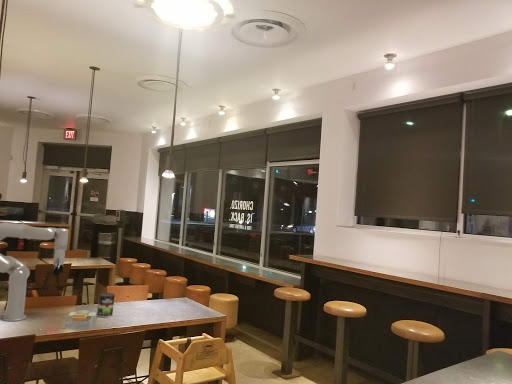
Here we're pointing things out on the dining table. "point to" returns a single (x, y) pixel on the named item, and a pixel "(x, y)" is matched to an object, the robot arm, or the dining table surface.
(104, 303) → the coffee can
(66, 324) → the clear square container
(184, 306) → the dining table surface
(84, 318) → the chute block
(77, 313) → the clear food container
